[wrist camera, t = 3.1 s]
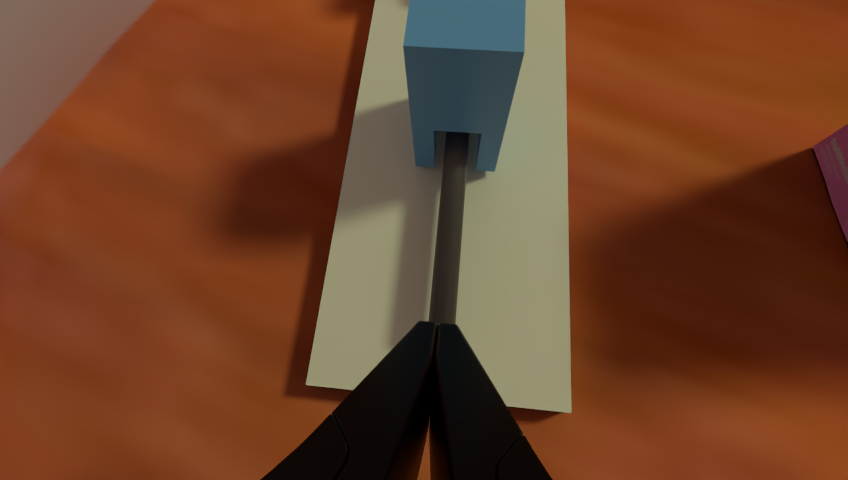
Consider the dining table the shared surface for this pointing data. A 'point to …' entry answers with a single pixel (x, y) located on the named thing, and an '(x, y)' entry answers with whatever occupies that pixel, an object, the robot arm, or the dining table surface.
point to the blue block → (462, 72)
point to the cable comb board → (454, 227)
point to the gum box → (836, 172)
